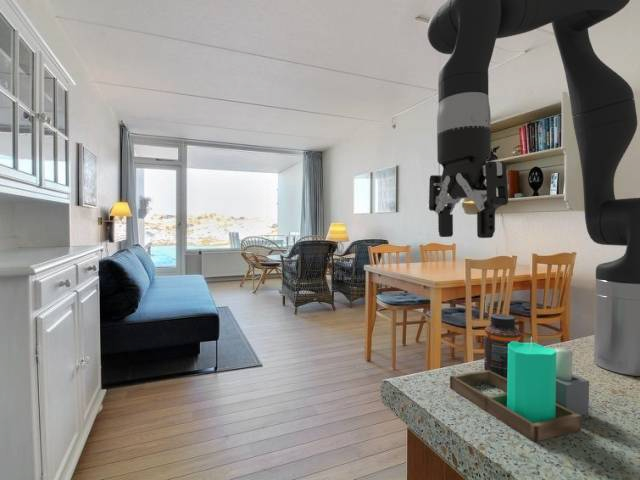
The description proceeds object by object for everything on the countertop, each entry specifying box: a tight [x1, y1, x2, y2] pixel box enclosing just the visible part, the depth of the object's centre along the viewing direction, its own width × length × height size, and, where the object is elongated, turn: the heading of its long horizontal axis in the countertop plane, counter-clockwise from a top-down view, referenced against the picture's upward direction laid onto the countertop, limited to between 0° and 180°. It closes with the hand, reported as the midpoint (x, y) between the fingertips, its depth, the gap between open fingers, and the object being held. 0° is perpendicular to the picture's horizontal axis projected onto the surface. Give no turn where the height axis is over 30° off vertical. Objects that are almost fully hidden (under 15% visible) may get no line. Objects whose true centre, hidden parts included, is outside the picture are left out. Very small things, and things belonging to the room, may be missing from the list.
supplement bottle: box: [483, 313, 522, 379], centre depth 64 cm, size 6×6×11 cm
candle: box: [506, 336, 557, 423], centre depth 50 cm, size 6×6×12 cm
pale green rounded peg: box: [553, 347, 573, 382], centre depth 52 cm, size 2×2×6 cm
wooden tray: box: [449, 369, 582, 443], centre depth 54 cm, size 8×16×2 cm, turn 18°
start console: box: [556, 373, 590, 417], centre depth 53 cm, size 5×5×5 cm
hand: (464, 237), depth 53 cm, fingers open, 8 cm apart
